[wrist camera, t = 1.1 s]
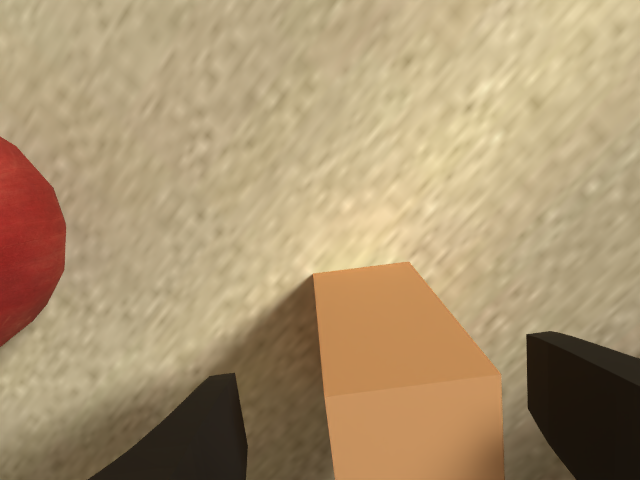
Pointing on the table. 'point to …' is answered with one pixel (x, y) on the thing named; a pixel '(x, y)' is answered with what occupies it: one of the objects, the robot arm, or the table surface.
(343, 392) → the tall tan block
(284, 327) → the table surface
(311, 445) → the table surface
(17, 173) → the onion
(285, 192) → the table surface
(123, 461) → the robot arm
